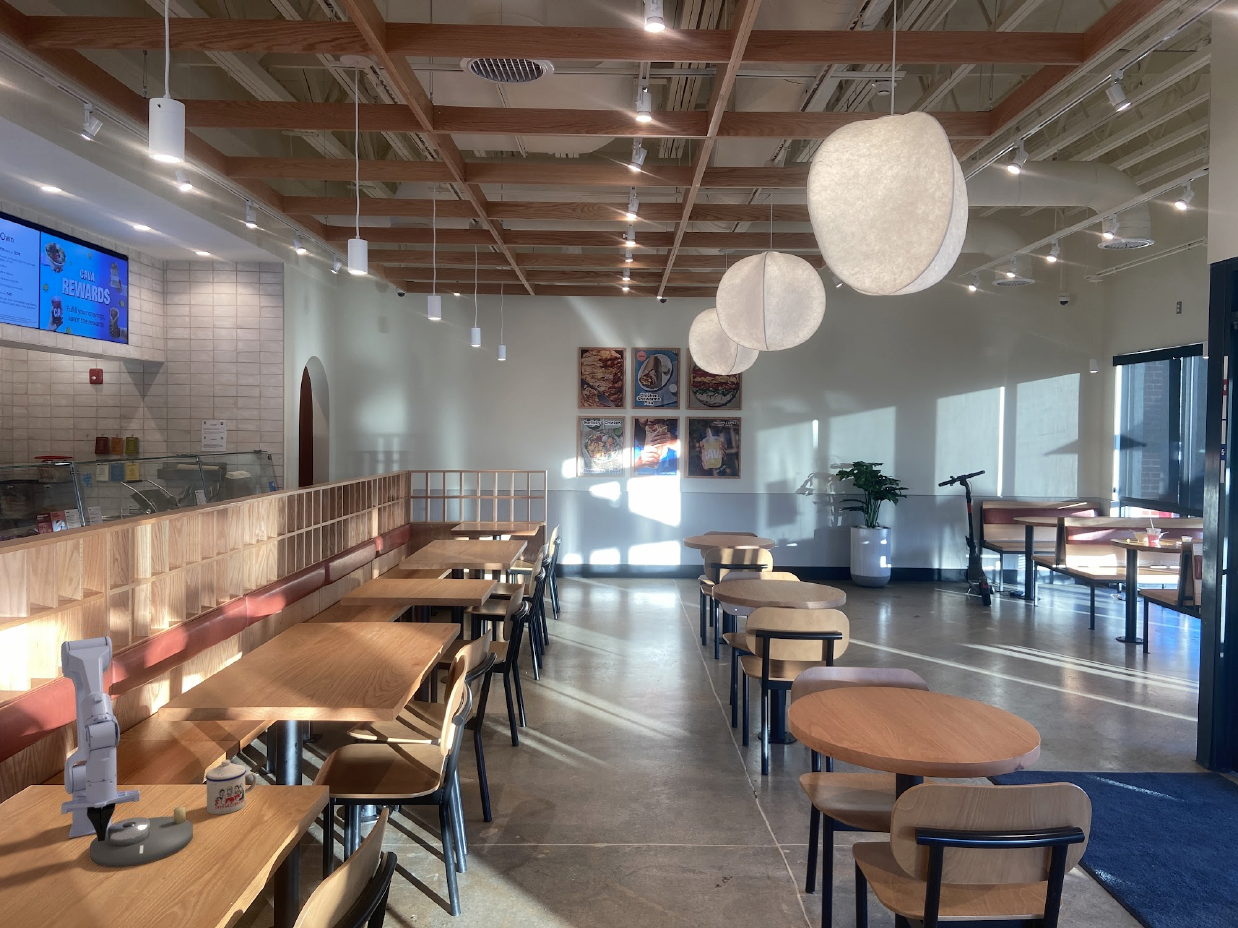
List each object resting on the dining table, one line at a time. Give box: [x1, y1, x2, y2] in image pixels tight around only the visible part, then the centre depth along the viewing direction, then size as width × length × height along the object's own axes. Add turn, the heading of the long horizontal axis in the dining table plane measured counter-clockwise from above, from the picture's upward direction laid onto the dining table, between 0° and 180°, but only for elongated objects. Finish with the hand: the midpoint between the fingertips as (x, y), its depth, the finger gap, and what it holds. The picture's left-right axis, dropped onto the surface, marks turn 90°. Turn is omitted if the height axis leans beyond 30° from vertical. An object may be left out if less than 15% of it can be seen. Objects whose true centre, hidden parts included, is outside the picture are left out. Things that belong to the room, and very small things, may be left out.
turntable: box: [89, 806, 194, 868], centre depth 186 cm, size 20×20×5 cm
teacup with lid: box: [205, 759, 258, 815], centre depth 207 cm, size 12×9×12 cm
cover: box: [108, 816, 150, 847], centre depth 185 cm, size 8×8×3 cm
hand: (101, 839), depth 182 cm, fingers closed
